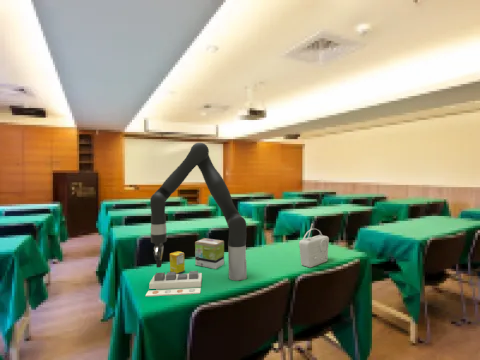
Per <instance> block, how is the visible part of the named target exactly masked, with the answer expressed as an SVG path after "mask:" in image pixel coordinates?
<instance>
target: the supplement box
mask: <svg viewBox="0 0 480 360" xmlns="http://www.w3.org/2000/svg"><path fill="white" fill-rule="evenodd" d="M185 265H186V264H185V253H184V252H182V251H179V250H178V251H174V252H171V253H169V272H176V274H184V273H185V271H186V270H185V268H186V266H185Z"/></svg>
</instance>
